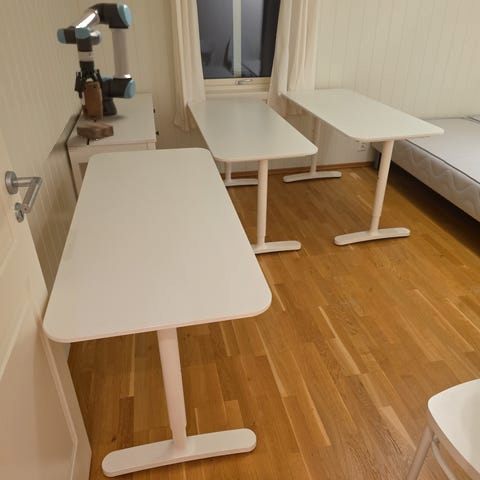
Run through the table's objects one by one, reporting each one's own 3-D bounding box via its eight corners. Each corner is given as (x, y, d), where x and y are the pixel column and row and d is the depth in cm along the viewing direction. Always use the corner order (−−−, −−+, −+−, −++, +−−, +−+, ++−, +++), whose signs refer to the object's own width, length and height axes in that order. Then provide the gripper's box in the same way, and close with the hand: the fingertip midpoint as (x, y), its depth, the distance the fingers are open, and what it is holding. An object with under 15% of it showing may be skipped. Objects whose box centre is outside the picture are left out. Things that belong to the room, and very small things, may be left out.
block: (104, 117, 254) (100, 80, 244) (103, 120, 247) (99, 83, 237) (84, 117, 251) (79, 80, 242) (82, 121, 245) (77, 83, 235)
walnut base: (97, 130, 263) (95, 121, 260) (113, 134, 256) (112, 126, 254) (77, 135, 252) (76, 126, 250) (94, 140, 246) (93, 131, 243)
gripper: (72, 63, 224) (78, 107, 235) (108, 58, 241) (112, 100, 252) (62, 61, 227) (69, 105, 238) (98, 56, 245) (103, 97, 255)
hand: (91, 102), depth 245 cm, fingers closed on block, 11 cm apart
